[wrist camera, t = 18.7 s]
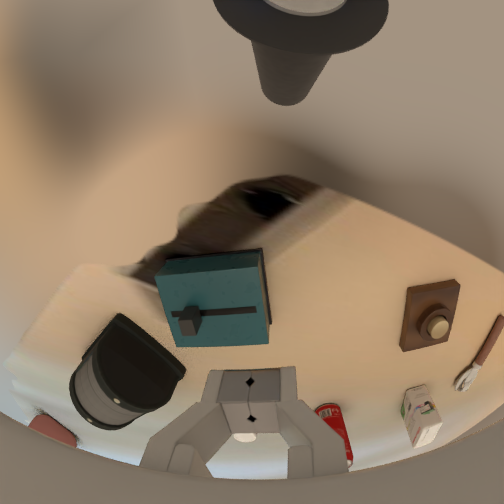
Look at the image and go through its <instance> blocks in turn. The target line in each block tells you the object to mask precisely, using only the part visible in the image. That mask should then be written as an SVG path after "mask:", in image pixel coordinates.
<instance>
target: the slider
mask: <svg viewBox="0 0 504 504" xmlns="http://www.w3.org/2000/svg"><path fill="white" fill-rule="evenodd" d="M178 323H179V327H180V330H181V333H182V336H197V333H198V331H199V328H200V326H201V323H202V318H201V314H200V310H199V307H198V306H191V307H185V308H184V310H183V311H182V313H181V315H180V317H179V319H178Z"/></svg>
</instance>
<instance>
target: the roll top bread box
mask: <svg viewBox="0 0 504 504" xmlns="http://www.w3.org/2000/svg"><path fill="white" fill-rule="evenodd" d="M185 372H186V368H185V367H184V366H183V365H182V364H181V363H180V362H179V361H178V360H177V359H176V358H175V357H174V356H173V355H172V354H171V353H170V352H169V351H167V350H166V349H165V348H164V347H163V346H162V345H160V344H159V343H158V342H157V341H156V340H155V339H153V338H152V337H151V336H150V335H149V334H147V333H146V332H145V331H144V330H143V329H141V328H140V327H139V326H138V325H136V324H135V323H134V322H132V321H131V320H130V319H128V318H127V317H125V316H124V315H122V314H120V313H119V314H117V315H116V316H115V317H114V318H113V319H112V321H111V322H110V323H109V324H108V325H107V327H106V328H105V329H104V330H103V331H102V333H101V334H100V335H99V336H98V338H97V339H96V340H95V341H94V342H93V344H92V345H91V346H90V347H89V349H88V350H87V351H86V352H85V354H84V355H83V356H82V362H81V363H80V364H79V366H78V367H77V369H76V370H75V371H74V373H73V374H72V376H71V379H70V383H69V390H70V396H71V399H72V402H73V404H74V406H75V408H76V410H77V411H78V412H79V414H80V415H81V416H82V417H83V418H84V419H85V420H86V421H87V422H89V423H91V424H92V425H94V426H96V427H98V428H101V429H105V430H118V429H121V428H123V427H125V426H127V425H129V424H131V423H132V422H133V421H134V420H135V419H137V418H139V417H140V416H142V415H144V414H146V413H149V412H152V411H155V410H157V409H158V408H160V407H162V406H164V405H165V404H166V403H167V402H168V401H169V400H170V399H171V397H172V394H173V392H174V390H175V387H176V385H177V383H178V381H180V380H181V379H183V377H184V374H185Z"/></svg>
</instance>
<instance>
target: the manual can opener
mask: <svg viewBox="0 0 504 504" xmlns="http://www.w3.org/2000/svg"><path fill="white" fill-rule="evenodd" d="M503 327H504V316H499V317H498V319H497V321H496V323H495V325H494V327H493V329H492V331H491V333H490V335H489V337H488V339H487V341H486V342H485V344H484V346H483V348H482V350H481V351H480V353H479V355H478V357H477V358H476V360H475V361H474V362H473V364H472V365H473V367H472V368H471V369H469V370H467V371H466V372H465V373H464V374H463V375H462V376H461V377H460V378H459V380H458V382H457V383H456V386H455V391H456V390H458V391H460V392H462V391H467V390H468V388H469V386H470V384H471V383H472V382H473V381H474V379H475V378H476V376H477V372H478V370H480V368H481V367H482V364H483V363H484V361H485V359H486V358H487V356H488V354H489V353H490V351H491V349H492V347H493V346H494V344H495V342H496V340H497V338H498V336H499V334H500V333H501V331H502V329H503ZM466 377H467V378H466ZM463 382H464V387H463V388H462V384H463Z"/></svg>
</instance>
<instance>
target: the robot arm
mask: <svg viewBox="0 0 504 504" xmlns="http://www.w3.org/2000/svg"><path fill="white" fill-rule="evenodd" d="M264 1H265V2H266V3H268V4H269V5H271V6H272V7H274V8H276V9H278V10H281V11H283V12H286V13H290V14H294V15H300V16H321V15H326V14H329V13H332V12H334V11H336V10H338V9H339V8H341V7H342V6H343V5H344V4H345V3H346V1H347V0H264ZM238 433H280V435H281V436H282V437H283V439H284V440H285V441H286V443H287V444H288V445H289V447H290V448H289V449H288V476H287V479H268V480H249V479H224V478H213V476H212V475H211V473H210V471H209V470H208V468H207V467H206V465H205V464H206V463H207V462H208V461H209V460H210V459H211V458H212V457H213V456H214V454H215V453H216V452H217V451H218V450H219V449H220V448H221V447H222V445H223V444H224V443H225V442H226V441H227V440H228V439H229V437H230V436H231V435H232V434H238ZM0 504H504V418H503V419H501V420H499V421H497V422H496V423H494V424H492V425H490V426H488V427H486V428H484V429H482V430H480V431H478V432H475V433H474V434H471V435H469V436H467V437H464V438H462V439H460V440H458V441H455V442H453V443H450V444H448V445H445V446H442V447H440V448H437V449H434V450H432V451H429V452H426V453H423V454H420V455H417V456H413V457H410V458H407V459H403V460H400V461H396V462H392V463H389V464H385V465H380V466H376V467H372V468H367V469H362V470H357V471H351V472H349V470H348V463H347V456H346V450H345V444H344V439H343V438H342V437H341V436H340V435H338V434H337V433H336V432H335V431H334V430H333V429H332V428H331V427H330V426H329V425H328V424H327V423H326V422H325V421H323V420H322V419H321V418H320V417H319V416H318V415H317V414H316V413H315V412H314V411H313V410H312V409H311V408H310V407H309V406H308V405H307V404H306V403H305V402H304V401H303V400H298V397H297V381H296V367H295V366H288V367H278V368H265V369H248V370H211V371H210V372H209V374H208V378H207V381H206V385H205V388H204V391H203V395H202V398H201V402H196V403H195V404H194V405H192V406H191V407H190V408H189V409H187V410H186V411H185V412H184V413H182V414H181V415H180V416H179V417H177V418H176V419H175V420H173V421H172V422H171V423H170V424H168V425H167V426H166V427H164V428H163V429H162V430H160V431H159V432H158V433H156V434H155V435H154V436H152V437H151V438H150V439H149V442H148V444H147V447H146V450H145V452H144V455H143V457H142V460H141V462H140V465H139V466H136V465H132V464H128V463H124V462H120V461H116V460H113V459H109V458H106V457H103V456H99V455H96V454H93V453H90V452H87V451H84V450H81V449H79V448H76V447H73V446H71V445H68V444H66V443H63V442H61V441H58V440H56V439H53V438H51V437H49V436H47V435H44V434H42V433H40V432H38V431H36V430H34V429H32V428H30V427H28V426H26V425H23V424H22V423H20V422H18V421H16V420H14V419H12V418H10V417H9V416H7V415H5V414H3V413H2V412H0Z"/></svg>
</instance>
